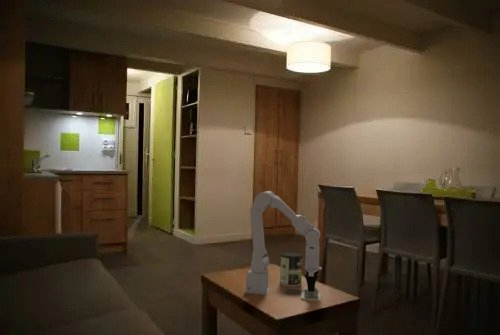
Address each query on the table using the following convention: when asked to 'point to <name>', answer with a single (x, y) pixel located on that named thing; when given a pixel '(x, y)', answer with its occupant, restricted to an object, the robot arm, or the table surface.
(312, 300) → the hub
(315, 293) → the ring
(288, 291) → the mat
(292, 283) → the coffee can
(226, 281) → the table surface
